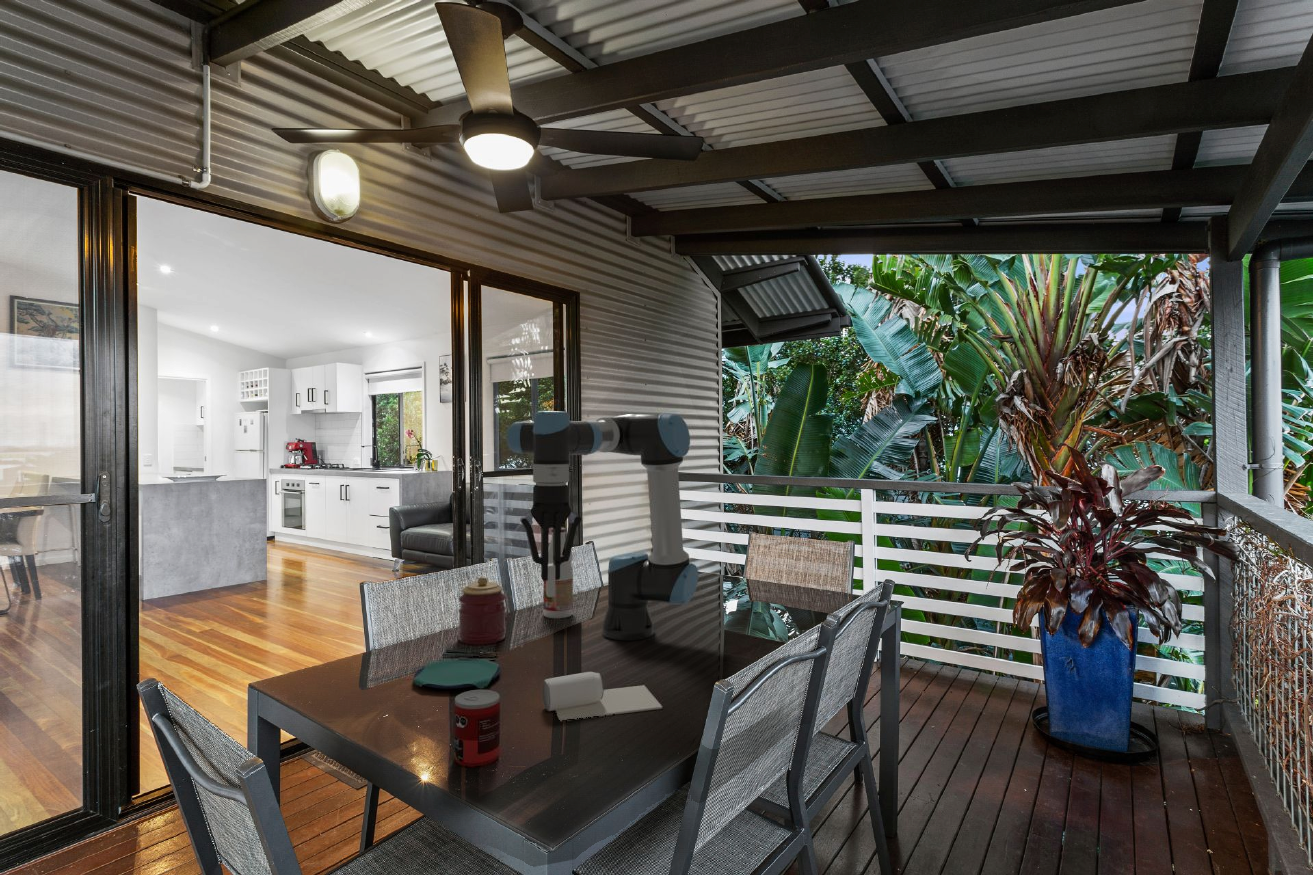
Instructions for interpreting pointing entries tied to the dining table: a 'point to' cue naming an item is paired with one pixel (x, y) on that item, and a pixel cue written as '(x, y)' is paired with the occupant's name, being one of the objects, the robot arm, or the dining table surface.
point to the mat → (613, 704)
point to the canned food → (476, 727)
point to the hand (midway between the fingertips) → (550, 595)
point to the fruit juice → (559, 586)
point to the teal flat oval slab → (458, 671)
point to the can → (572, 690)
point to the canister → (482, 613)
